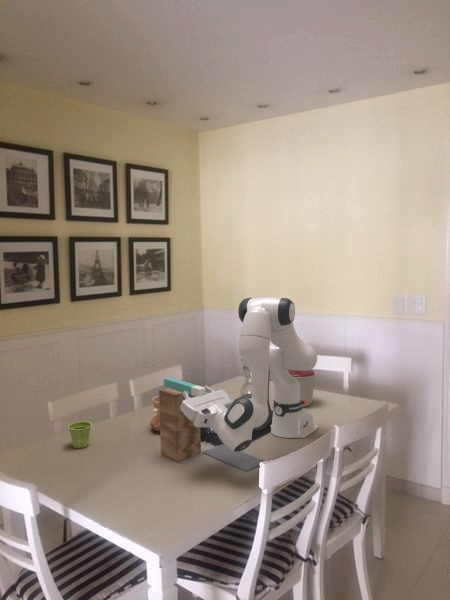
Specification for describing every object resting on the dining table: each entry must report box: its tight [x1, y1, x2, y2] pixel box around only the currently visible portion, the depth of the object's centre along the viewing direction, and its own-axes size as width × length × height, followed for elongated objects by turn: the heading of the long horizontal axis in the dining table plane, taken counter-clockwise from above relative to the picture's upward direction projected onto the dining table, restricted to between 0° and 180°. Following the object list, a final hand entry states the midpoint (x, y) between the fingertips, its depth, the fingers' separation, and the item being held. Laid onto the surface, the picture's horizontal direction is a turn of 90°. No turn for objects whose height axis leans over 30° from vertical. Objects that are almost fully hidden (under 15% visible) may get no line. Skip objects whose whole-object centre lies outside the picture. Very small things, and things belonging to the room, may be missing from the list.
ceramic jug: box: [149, 395, 160, 433], centre depth 223 cm, size 18×14×14 cm
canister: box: [288, 369, 317, 408], centre depth 255 cm, size 18×18×21 cm
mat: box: [202, 443, 265, 473], centre depth 192 cm, size 11×24×1 cm, turn 43°
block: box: [163, 376, 207, 396], centre depth 191 cm, size 3×22×3 cm, turn 43°
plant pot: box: [67, 421, 93, 449], centre depth 206 cm, size 9×9×9 cm
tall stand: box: [158, 387, 202, 463], centre depth 195 cm, size 12×10×26 cm
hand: (194, 389), depth 187 cm, fingers open, 8 cm apart
